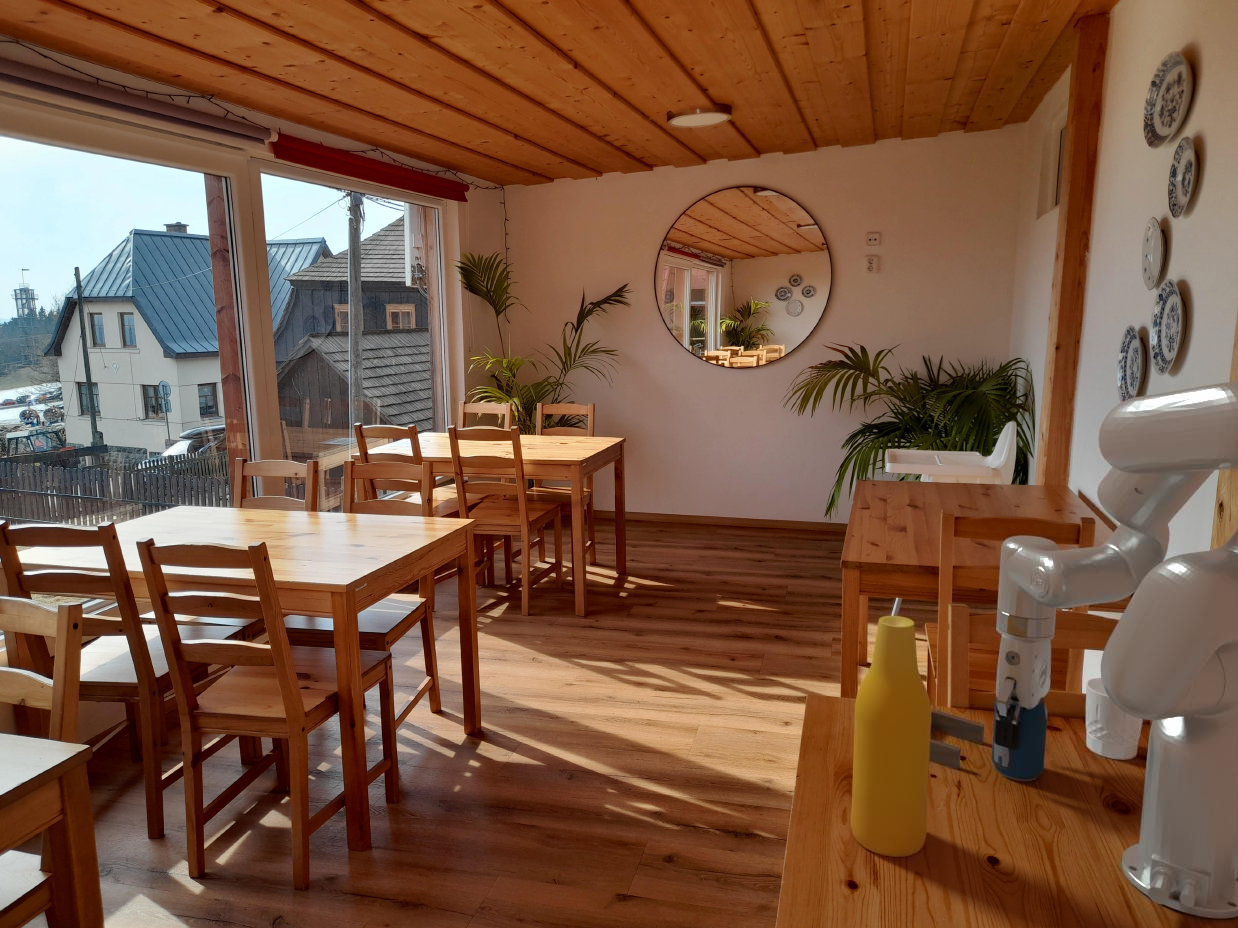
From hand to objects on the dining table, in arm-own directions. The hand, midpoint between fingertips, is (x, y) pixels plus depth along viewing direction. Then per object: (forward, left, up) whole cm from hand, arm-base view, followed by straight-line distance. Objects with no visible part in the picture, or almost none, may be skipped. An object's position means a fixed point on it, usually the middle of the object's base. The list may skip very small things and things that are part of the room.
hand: (1018, 734), depth 123 cm
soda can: (0, 0, -6) cm, 6 cm away
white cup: (+16, -9, -6) cm, 19 cm away
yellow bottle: (-28, +7, -6) cm, 29 cm away
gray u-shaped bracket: (0, +11, -6) cm, 12 cm away
